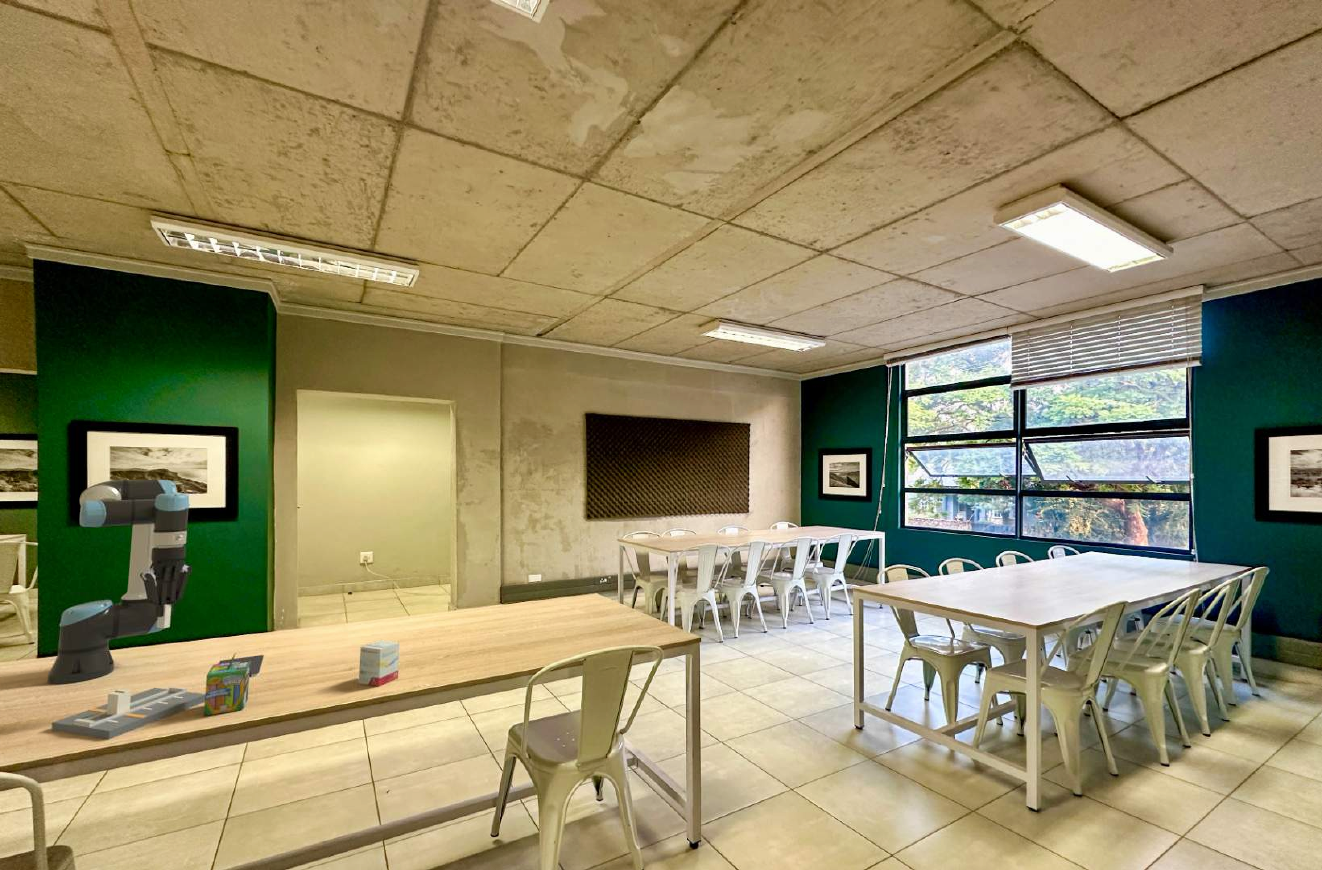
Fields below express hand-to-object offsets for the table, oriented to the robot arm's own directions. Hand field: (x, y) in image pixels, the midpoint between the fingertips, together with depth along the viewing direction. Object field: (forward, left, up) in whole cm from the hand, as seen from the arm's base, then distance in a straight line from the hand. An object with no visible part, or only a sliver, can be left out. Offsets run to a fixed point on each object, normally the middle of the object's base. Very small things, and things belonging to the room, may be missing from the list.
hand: (163, 627), depth 161 cm
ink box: (+48, +32, -23) cm, 62 cm away
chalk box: (+20, +4, -23) cm, 31 cm away
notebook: (-6, +29, -23) cm, 38 cm away
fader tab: (0, -10, -20) cm, 23 cm away
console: (0, -6, -22) cm, 23 cm away
